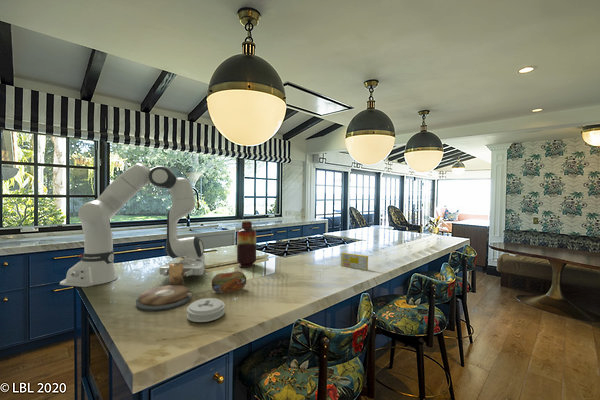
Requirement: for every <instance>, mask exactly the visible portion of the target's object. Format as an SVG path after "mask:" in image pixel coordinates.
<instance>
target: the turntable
mask: <svg viewBox="0 0 600 400" xmlns="http://www.w3.org/2000/svg"><path fill="white" fill-rule="evenodd" d="M189 290H190V289H189V288H188V287H187V286H185V285H183V286H179V285H169V284H168V285H162V286H157V287H152V288H150V289H147V290H145V291H143V292H141V293H140V294H139V297H138V298H139V302H140V303H141V304H143V305H149V306H160V305H167V304H172V303H175V302H178V301H181V300H183V299H185V298H186V297H187V296H191V295H192V292H191V293H189Z"/></svg>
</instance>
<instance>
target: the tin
mask: <svg viewBox="0 0 600 400" xmlns="http://www.w3.org/2000/svg"><path fill="white" fill-rule="evenodd" d="M211 279H212V280H211V284H210V285H211V288H212V290H213V291H214V292H215V293H217V294H221V295H222V294H226V293H231V292H238V291H240V290H242V289H244V287H246V284H247V277H246V275H245V274H244V273H243V272H242V271H238V270H236V271H229V272H221V273H217V274H216V275H215V276H213V278H211Z"/></svg>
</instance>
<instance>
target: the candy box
mask: <svg viewBox="0 0 600 400" xmlns="http://www.w3.org/2000/svg"><path fill="white" fill-rule="evenodd" d="M340 267H341V268H347V269H354V270H360V271H366V272H367V271H368V270H369V255H363V254H356V253H355V254H354V253H348V252H341V253H340Z"/></svg>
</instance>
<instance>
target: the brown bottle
mask: <svg viewBox="0 0 600 400" xmlns="http://www.w3.org/2000/svg"><path fill="white" fill-rule="evenodd" d="M236 262H237V263H238V267H240V268H245V269H246V268H248V269H249V268H252V267H255V263H256V262H257V231H256V229H254V228H253V223H252V221H250V220H244V221H241V228H240V229H238V230H237V233H236Z"/></svg>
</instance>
